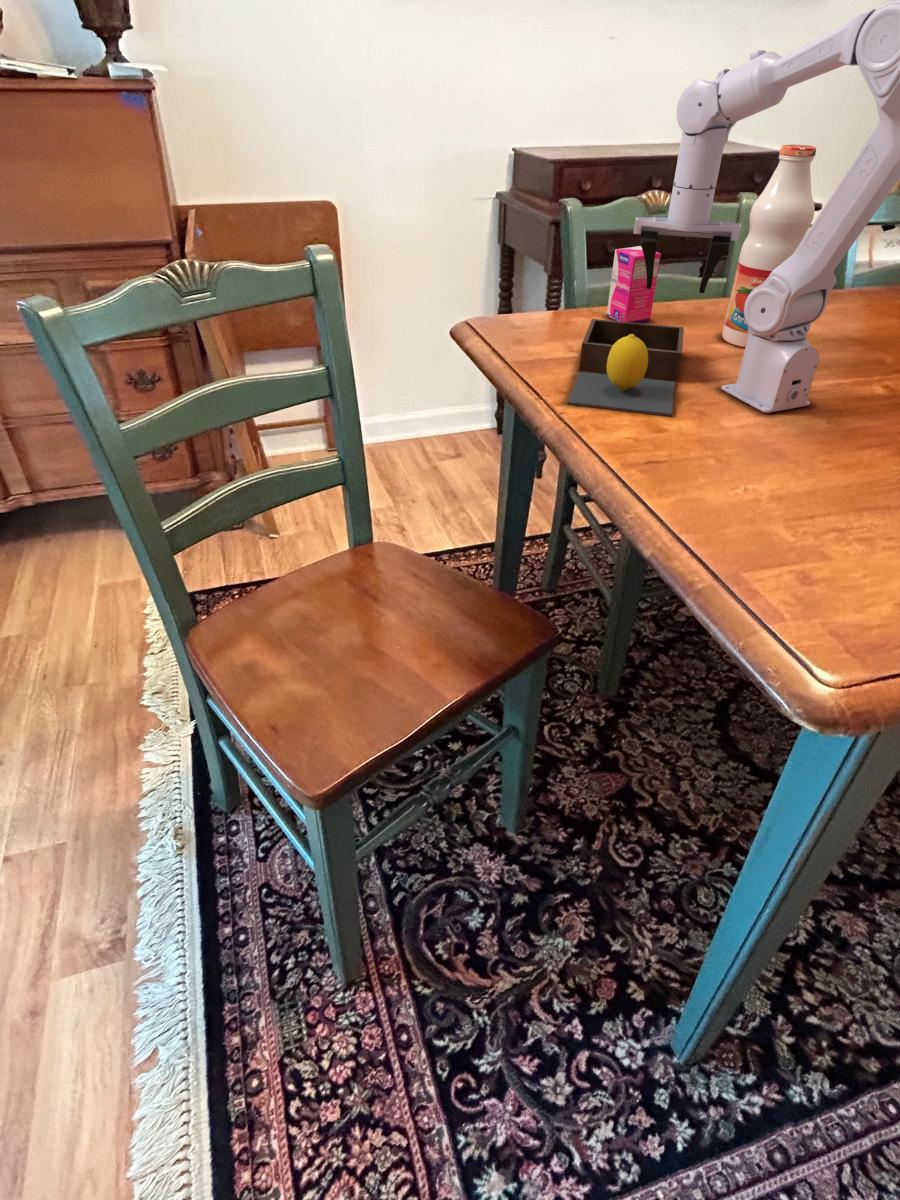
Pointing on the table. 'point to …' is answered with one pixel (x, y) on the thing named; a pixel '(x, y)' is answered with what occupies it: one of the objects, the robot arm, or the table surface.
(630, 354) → the lemon
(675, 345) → the dark brown shallow box
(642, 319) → the supplement box
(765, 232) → the fruit juice
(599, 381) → the placemat
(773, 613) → the table surface
